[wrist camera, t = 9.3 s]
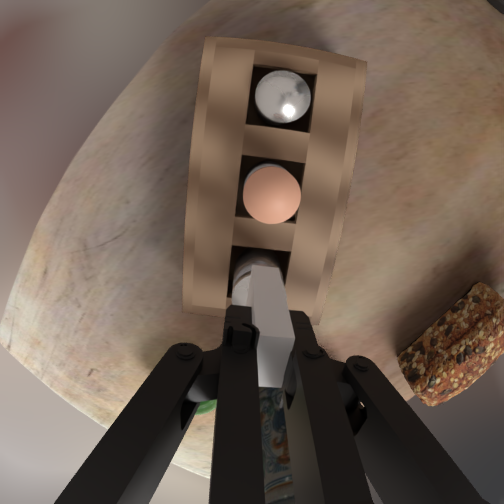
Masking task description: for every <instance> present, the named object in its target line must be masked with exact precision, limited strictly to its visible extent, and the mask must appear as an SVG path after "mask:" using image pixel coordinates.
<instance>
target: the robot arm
mask: <svg viewBox="0 0 504 504" xmlns="http://www.w3.org/2000/svg"><path fill="white" fill-rule="evenodd" d="M487 1H488V2H489V3H490V4H491V5H492V6H493V7H495V8H496V9H497V10H498V11H500V12H501V13H502V14H504V0H487ZM283 380H284V384H285V388H284V391H283V395H282V398H281V401H280V404H279V408H282V405H284V413H285V421H286V429H287V438H288V446H289V454H290V463H291V471H292V480H293V488H294V497H295V504H374V503H373V500H372V497H371V494H370V490H369V486H368V483H367V479H366V476H365V473H366V475H367V477H368V479H369V480H370V482H371V483H372V485H373V487H374V489H375V490H376V492H377V493H378V495H379V497H380V498H381V500H382V502H383V503H384V504H490V503H489V502H487V501H485V500H484V499H482V497H481V496H480V495H479V493H478V492H477V491H476V489H475V488H474V487H473V486H472V484H471V483H470V482H469V480H468V479H467V478H466V476H465V475H464V474H463V473H462V471H461V470H460V469H459V468H458V466H457V465H456V464H455V463H454V461H453V460H452V458H451V457H450V456H449V455H448V453H447V452H446V451H445V450H444V448H443V447H442V446H441V445H440V443H439V442H438V441H437V440H436V438H435V437H434V436H433V434H432V433H431V432H430V431H429V429H428V428H427V427H426V426H425V425H424V423H423V422H422V421H421V420H420V418H419V417H418V416H417V415H416V413H415V412H414V411H413V410H412V408H411V407H410V406H409V405H408V404H407V402H406V401H405V400H404V399H403V397H402V396H401V395H400V394H399V392H398V391H397V390H396V389H395V388H394V386H393V385H392V384H391V383H390V382H389V380H388V379H387V378H386V377H385V375H384V374H383V373H382V372H381V371H380V369H379V368H378V367H377V366H376V365H375V363H374V362H372V361H371V360H370V359H368V358H366V357H363V356H359V355H358V356H351V357H349V358H348V359H347V360H346V363H344V362H340V361H336V360H333V359H330V358H329V357H328V355H327V353H326V351H325V350H324V349H323V348H321V347H320V346H318V344H317V341H316V338H315V334H314V331H313V328H312V325H311V322H310V319H309V317H308V316H307V315H306V314H305V313H304V312H303V311H296V310H289V309H288V305H287V301H286V296H285V292H284V288H283V284H282V280H281V275H280V271H279V268H275V267H266V266H258V265H252V270H251V276H250V283H249V289H248V296H247V302H246V306H241V305H232V304H231V305H230V306H229V307H228V308H227V309H226V314H225V323H224V331H223V341H222V344H221V345H220V347H218V348H217V349H214V350H211V351H205V352H202V350H201V349H200V348H199V347H198V346H196V345H194V344H191V343H178V344H175V345H173V346H172V347H170V348H169V349H168V351H167V352H166V353H165V355H164V356H163V357H162V359H161V360H160V361H159V363H158V364H157V365H156V367H155V368H154V369H153V371H152V372H151V373H150V375H149V376H148V377H147V379H146V380H145V381H144V383H143V384H142V385H141V387H140V388H139V389H138V391H137V392H136V393H135V395H134V396H133V397H132V399H131V400H130V401H129V403H128V404H127V405H126V407H125V408H124V409H123V411H122V412H121V413H120V415H119V416H118V417H117V419H116V420H115V421H114V423H113V424H112V425H111V427H110V428H109V429H108V431H107V432H106V433H105V435H104V436H103V437H102V439H101V440H100V441H99V443H98V444H97V446H96V447H95V448H94V450H93V451H92V452H91V454H90V455H89V456H88V458H87V459H86V460H85V462H84V463H83V464H82V466H81V467H80V469H79V470H78V471H77V473H76V474H75V475H74V477H73V478H72V479H71V481H70V482H69V483H68V485H67V486H66V488H65V489H64V490H63V492H62V493H61V494H60V496H59V497H58V499H57V500H56V501H55V503H54V504H149V502H150V500H151V498H152V496H153V494H154V493H155V491H156V489H157V487H158V485H159V483H160V481H161V479H162V477H163V475H164V473H165V472H166V470H167V468H168V466H169V464H170V462H171V460H172V458H173V456H174V454H175V452H176V451H177V449H178V447H179V445H180V443H181V441H182V439H183V437H184V435H185V433H186V431H187V429H188V427H189V425H190V423H191V421H192V419H193V417H194V415H195V413H196V411H197V409H198V407H199V405H200V402H202V401H210V400H217V402H216V413H215V425H214V437H213V450H212V463H211V477H210V492H209V504H265V489H264V471H263V453H262V435H261V417H260V399H259V386H260V387H275V388H281V387H282V384H283ZM360 402H362V403H363V405H364V406H365V407H363V406H362V405H361V403H360Z"/></svg>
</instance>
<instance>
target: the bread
mask: <svg viewBox="0 0 504 504" xmlns="http://www.w3.org/2000/svg"><path fill="white" fill-rule="evenodd" d="M503 353H504V299H503V298H502V297H501V296H500V295H499V294H498V293H497V292H495V291H494V290H493V289H492V288H490V287H489V286H488V285H485V284H483V283H481V282H479V283H478V284H476V285H473V287H472V290H471V291H470V292H469V293H468V294H467V295H465V296H464V297H463V298H462V299H460V300H459V301H457V302H456V303H455V304H454V306H452V307H451V308H450V309H449V310H448V311H447V312H446V313H445V314H444V315H443V316H442V317H440V318H439V319H438V320H437V321H436V322H435V323H433V324H432V325H431V326H430V327H429V328H428V329H427V330H426V331H424V333H423V334H422V335H421V336H420V337H419V338H418V339H417V341H415V342H413V343H412V345H411V346H410V347H409V348H407V349H406V350H405V351H403V352H401V354H400V355H399V356H398V363H399V367H400V368H401V371H402V373H403V374H404V377H405V379H406V381H407V382H408V384H409V385H410V387H411V389H412V390H413V392H414V393H415V394H416V395H417V396H418V397H419V398H420V399H421V401H422V402H423V403H424V404H427V405H428V406H434V405H435V406H439V405H441V404H442V403H444V402H445V401H448V399H450V398H452V397H453V396H455V395H457V394H459V393H460V392H462V391H463V390H465V389H467V388H468V387H469V386H471V384H472V383H474V382H475V381H476V380H477V379H478V378H479V377H480V376H481V375H483V374H484V373H485V372H486V370H487V369H489V368H490V367H491V366H492V365H493V364H494V363H495V361H496V360H497V359H498V357H499V356H500V355H501V354H503Z"/></svg>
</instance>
